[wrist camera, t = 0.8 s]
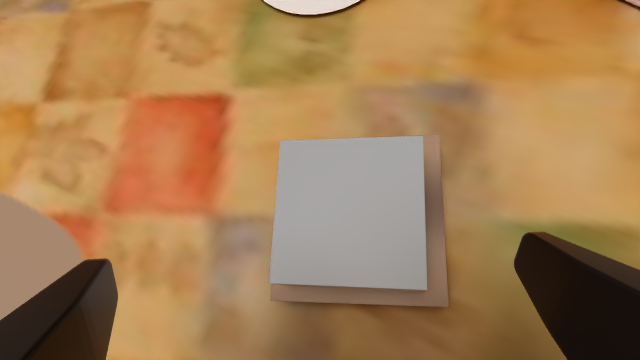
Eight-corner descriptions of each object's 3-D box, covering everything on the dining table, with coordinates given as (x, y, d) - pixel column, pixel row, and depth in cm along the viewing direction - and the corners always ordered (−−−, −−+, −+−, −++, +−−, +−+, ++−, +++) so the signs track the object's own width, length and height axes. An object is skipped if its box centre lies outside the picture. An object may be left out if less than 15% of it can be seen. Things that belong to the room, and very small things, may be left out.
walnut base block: (442, 306, 22) (448, 307, 19) (286, 300, 24) (270, 300, 21) (434, 153, 25) (438, 134, 22) (293, 158, 26) (280, 141, 24)
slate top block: (423, 291, 20) (427, 289, 17) (287, 285, 21) (269, 283, 18) (420, 157, 22) (423, 135, 19) (295, 160, 23) (280, 140, 20)
